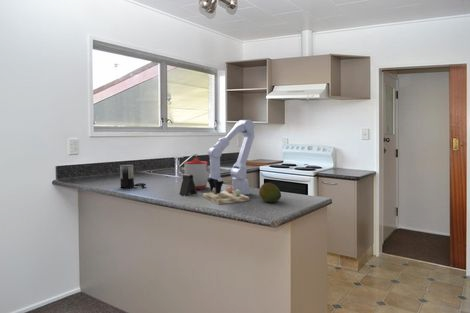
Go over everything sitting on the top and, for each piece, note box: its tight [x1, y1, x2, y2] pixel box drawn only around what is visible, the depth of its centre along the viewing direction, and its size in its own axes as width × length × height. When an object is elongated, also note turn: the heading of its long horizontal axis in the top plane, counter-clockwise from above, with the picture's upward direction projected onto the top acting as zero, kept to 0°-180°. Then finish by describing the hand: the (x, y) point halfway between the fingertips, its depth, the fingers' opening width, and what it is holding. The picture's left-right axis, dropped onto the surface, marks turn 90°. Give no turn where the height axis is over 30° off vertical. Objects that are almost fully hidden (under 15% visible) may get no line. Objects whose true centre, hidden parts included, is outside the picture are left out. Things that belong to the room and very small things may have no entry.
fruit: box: [258, 182, 282, 203], centre depth 196 cm, size 12×13×10 cm
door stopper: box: [178, 173, 198, 197], centre depth 220 cm, size 9×6×12 cm, turn 138°
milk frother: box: [119, 164, 147, 189], centre depth 246 cm, size 14×16×15 cm
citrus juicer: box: [183, 157, 210, 190], centre depth 239 cm, size 16×17×20 cm
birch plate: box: [202, 190, 250, 205], centre depth 206 cm, size 18×22×2 cm
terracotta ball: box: [226, 186, 233, 192], centre depth 213 cm, size 4×4×4 cm
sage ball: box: [235, 189, 241, 196], centre depth 204 cm, size 4×4×4 cm
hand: (215, 192), depth 211 cm, fingers open, 7 cm apart
